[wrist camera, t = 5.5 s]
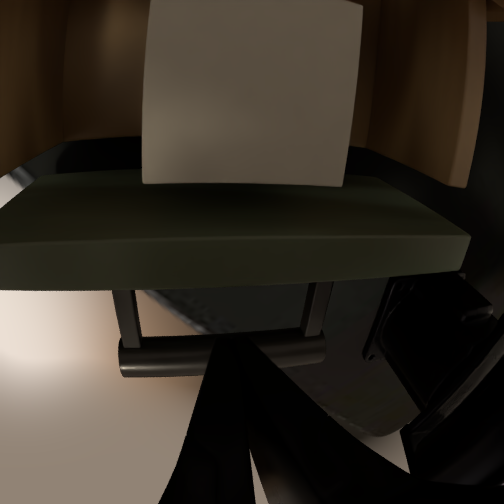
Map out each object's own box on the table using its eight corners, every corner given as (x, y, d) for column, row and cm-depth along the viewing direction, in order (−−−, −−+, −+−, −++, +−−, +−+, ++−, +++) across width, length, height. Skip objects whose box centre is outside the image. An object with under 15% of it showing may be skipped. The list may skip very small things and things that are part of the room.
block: (281, 147, 10) (342, 188, 7) (158, 145, 10) (142, 184, 6) (292, 32, 9) (364, 5, 5) (165, 23, 8) (154, -25, 4)
